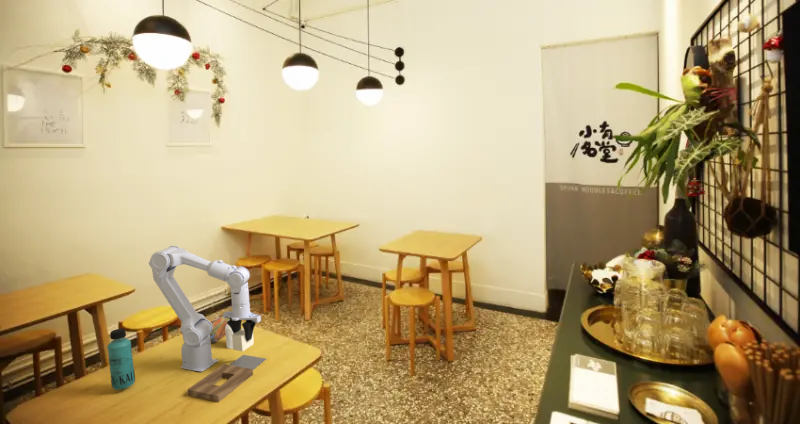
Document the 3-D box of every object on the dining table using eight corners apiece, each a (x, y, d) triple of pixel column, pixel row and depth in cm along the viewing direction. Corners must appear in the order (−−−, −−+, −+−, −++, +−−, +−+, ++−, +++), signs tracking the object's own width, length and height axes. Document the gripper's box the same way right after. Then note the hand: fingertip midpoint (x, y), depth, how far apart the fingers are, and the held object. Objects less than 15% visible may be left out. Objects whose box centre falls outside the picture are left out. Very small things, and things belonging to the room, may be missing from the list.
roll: (233, 312, 164) (243, 314, 161) (235, 340, 166) (245, 343, 163) (220, 318, 158) (231, 320, 156) (223, 347, 160) (233, 350, 158)
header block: (187, 395, 129) (187, 389, 129) (224, 369, 144) (223, 364, 144) (219, 401, 125) (218, 395, 125) (252, 374, 140) (252, 369, 140)
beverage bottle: (114, 385, 135) (107, 328, 132) (138, 381, 137) (131, 324, 134) (109, 396, 129) (101, 336, 126) (134, 391, 132) (127, 332, 128)
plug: (233, 349, 143) (231, 335, 143) (244, 342, 149) (243, 327, 148) (242, 351, 142) (241, 336, 141) (253, 343, 148) (252, 329, 147)
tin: (210, 346, 161) (209, 326, 160) (203, 345, 162) (201, 325, 161) (233, 330, 176) (231, 311, 175) (226, 329, 176) (225, 310, 175)
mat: (228, 366, 146) (228, 365, 146) (243, 355, 153) (243, 354, 153) (251, 370, 143) (251, 369, 143) (266, 359, 150) (266, 358, 150)
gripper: (215, 304, 142) (218, 341, 144) (250, 308, 137) (253, 346, 139) (230, 297, 149) (233, 332, 151) (263, 301, 144) (266, 337, 146)
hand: (243, 338), depth 145 cm, fingers closed on plug, 4 cm apart
